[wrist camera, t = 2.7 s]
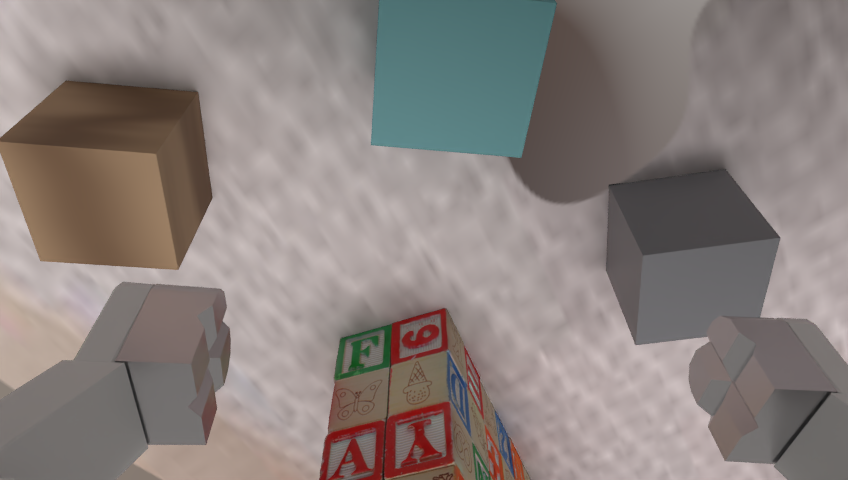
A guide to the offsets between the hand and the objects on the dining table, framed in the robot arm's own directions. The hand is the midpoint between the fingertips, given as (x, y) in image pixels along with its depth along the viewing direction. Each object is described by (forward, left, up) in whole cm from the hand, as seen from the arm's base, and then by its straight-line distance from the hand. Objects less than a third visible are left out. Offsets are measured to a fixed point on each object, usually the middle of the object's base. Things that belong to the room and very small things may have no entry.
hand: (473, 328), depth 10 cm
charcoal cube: (-11, +8, -15) cm, 21 cm away
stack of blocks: (-4, +25, -16) cm, 30 cm away
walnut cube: (+12, +6, -15) cm, 20 cm away
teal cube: (0, 0, -15) cm, 15 cm away
